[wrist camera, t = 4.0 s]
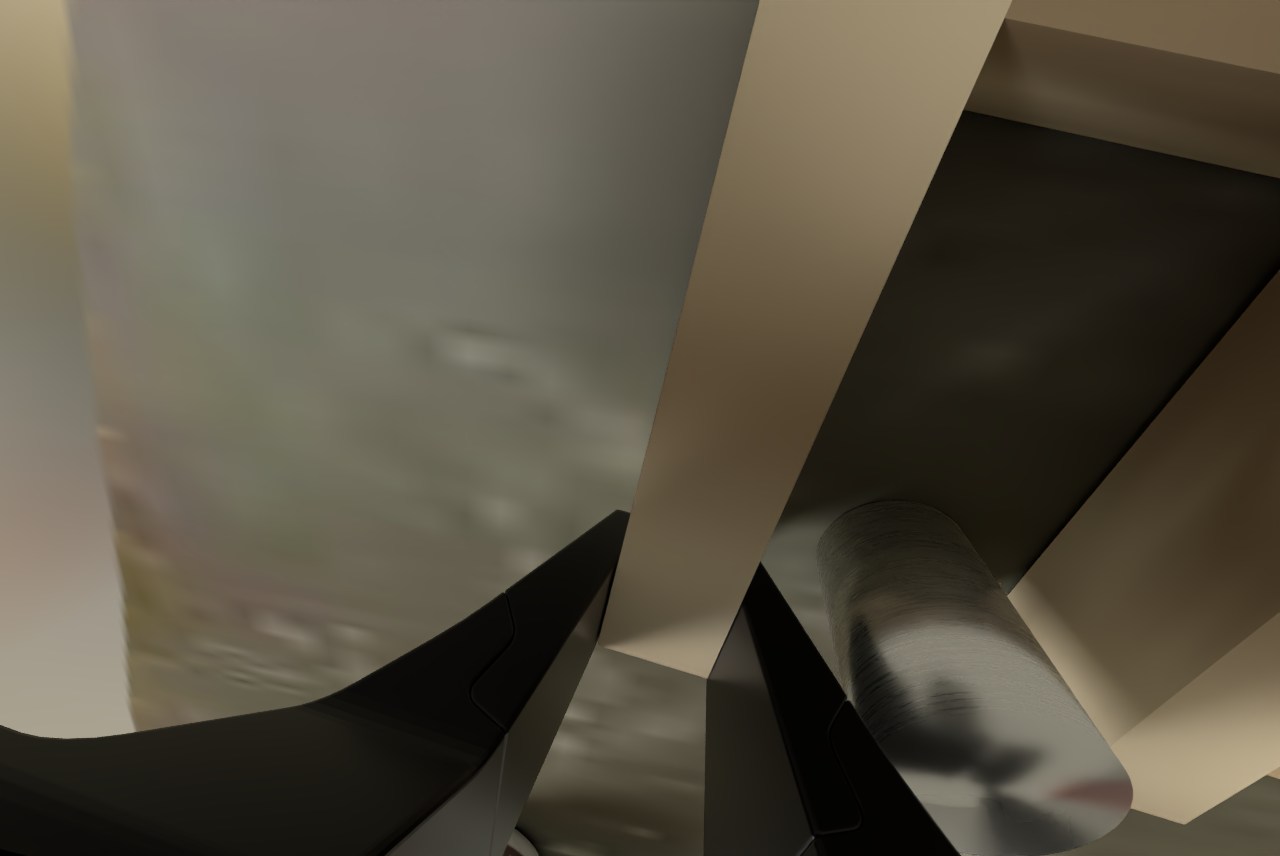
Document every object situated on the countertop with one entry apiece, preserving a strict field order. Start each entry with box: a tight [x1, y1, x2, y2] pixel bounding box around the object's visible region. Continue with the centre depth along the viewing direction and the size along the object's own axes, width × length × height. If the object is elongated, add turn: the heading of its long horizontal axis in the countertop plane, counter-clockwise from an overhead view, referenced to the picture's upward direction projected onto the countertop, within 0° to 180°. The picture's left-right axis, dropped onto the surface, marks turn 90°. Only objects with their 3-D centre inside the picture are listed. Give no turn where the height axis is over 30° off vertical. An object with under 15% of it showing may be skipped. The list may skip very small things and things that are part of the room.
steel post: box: [816, 501, 1133, 856], centre depth 8 cm, size 3×3×4 cm
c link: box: [598, 0, 1280, 825], centre depth 7 cm, size 11×10×3 cm
